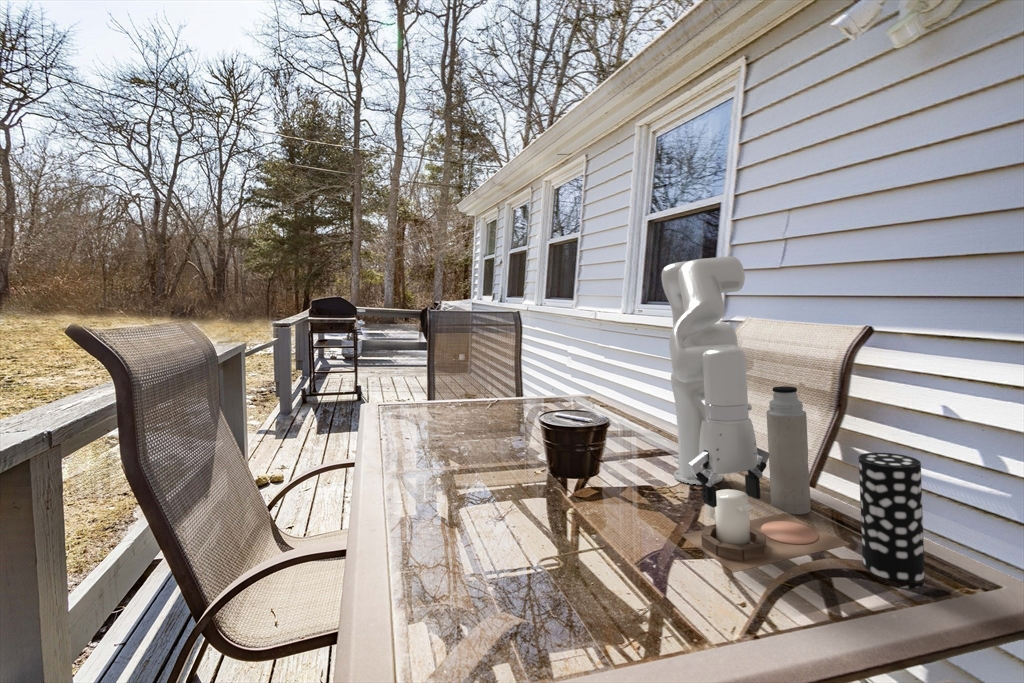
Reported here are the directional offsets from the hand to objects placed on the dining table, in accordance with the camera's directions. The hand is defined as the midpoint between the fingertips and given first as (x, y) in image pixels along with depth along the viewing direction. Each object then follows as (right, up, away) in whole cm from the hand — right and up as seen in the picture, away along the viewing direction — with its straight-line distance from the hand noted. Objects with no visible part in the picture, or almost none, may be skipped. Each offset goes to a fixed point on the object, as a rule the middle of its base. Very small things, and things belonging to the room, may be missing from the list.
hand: (731, 501), depth 95 cm
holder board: (+7, -10, +3) cm, 12 cm away
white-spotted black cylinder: (+23, -9, -11) cm, 27 cm away
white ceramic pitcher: (0, -9, +2) cm, 9 cm away
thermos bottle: (+22, -8, +19) cm, 30 cm away
